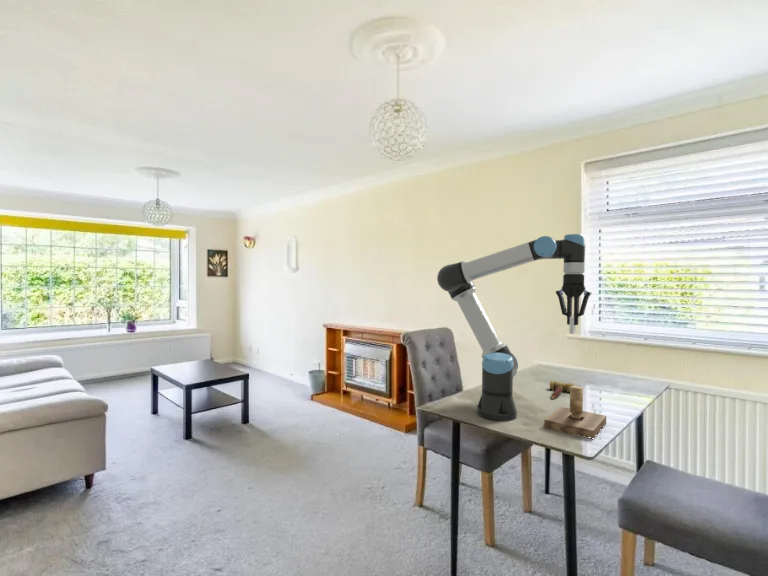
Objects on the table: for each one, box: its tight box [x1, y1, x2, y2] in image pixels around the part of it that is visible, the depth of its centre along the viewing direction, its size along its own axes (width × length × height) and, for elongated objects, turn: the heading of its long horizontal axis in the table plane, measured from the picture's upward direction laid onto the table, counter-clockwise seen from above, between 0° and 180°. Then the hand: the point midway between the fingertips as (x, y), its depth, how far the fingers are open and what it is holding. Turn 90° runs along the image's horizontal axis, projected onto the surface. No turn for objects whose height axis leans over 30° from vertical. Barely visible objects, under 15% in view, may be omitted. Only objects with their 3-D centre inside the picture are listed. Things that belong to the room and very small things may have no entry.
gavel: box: [549, 380, 574, 400], centre depth 187 cm, size 21×5×10 cm
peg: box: [569, 385, 584, 421], centre depth 146 cm, size 4×4×14 cm
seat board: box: [543, 406, 607, 439], centre depth 146 cm, size 16×20×3 cm
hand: (572, 333), depth 158 cm, fingers closed
